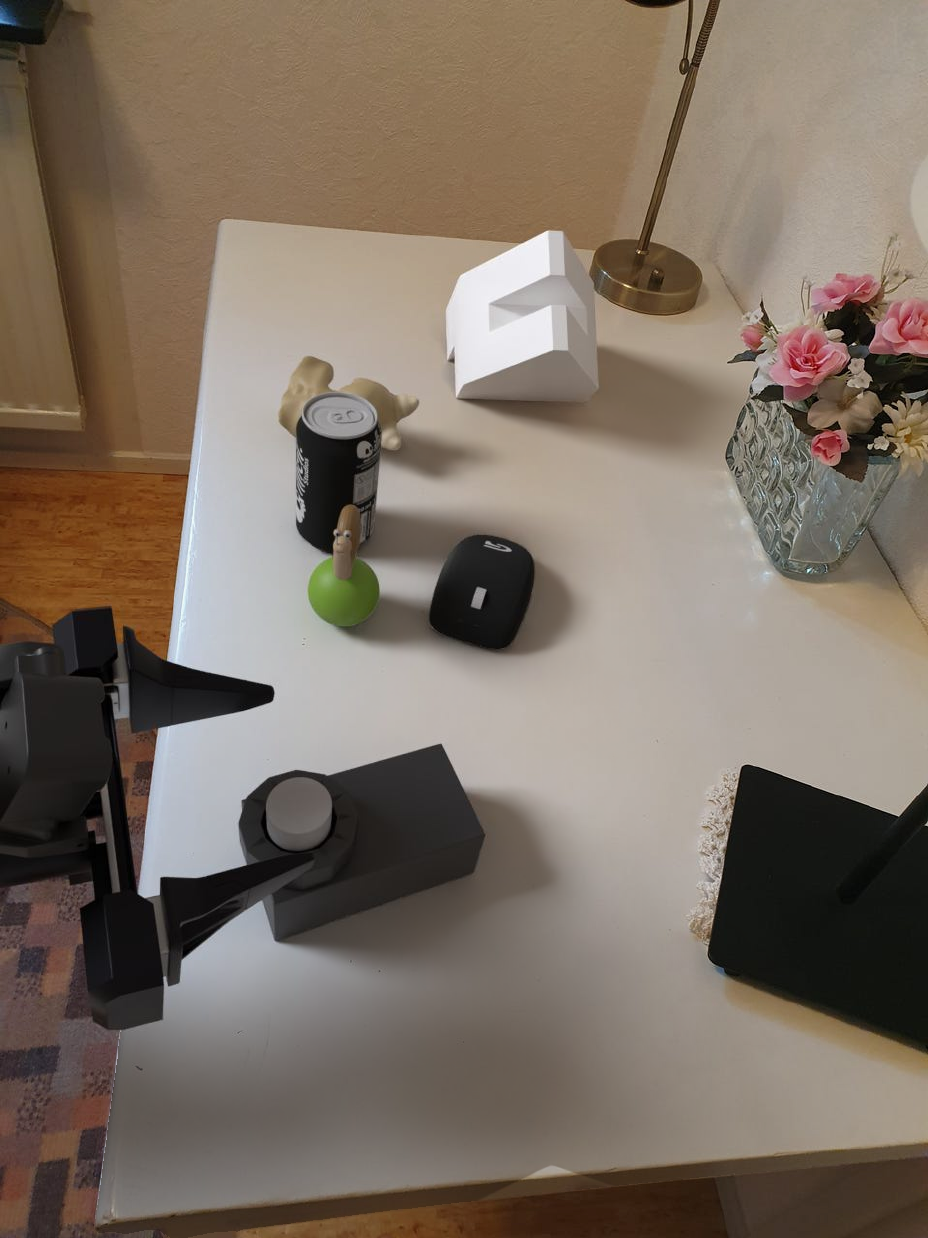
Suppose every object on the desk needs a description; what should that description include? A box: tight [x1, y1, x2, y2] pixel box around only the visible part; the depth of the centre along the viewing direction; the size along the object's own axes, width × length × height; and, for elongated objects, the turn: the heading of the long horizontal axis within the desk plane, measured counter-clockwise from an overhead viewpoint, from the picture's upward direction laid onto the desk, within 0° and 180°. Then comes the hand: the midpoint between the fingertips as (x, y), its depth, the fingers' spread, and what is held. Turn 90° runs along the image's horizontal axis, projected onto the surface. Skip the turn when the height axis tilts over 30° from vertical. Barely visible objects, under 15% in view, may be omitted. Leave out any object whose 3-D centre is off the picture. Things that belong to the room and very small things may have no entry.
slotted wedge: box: [445, 229, 600, 403], centre depth 92 cm, size 14×11×18 cm
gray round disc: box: [266, 777, 332, 852], centre depth 52 cm, size 4×4×2 cm
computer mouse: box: [428, 533, 536, 650], centre depth 75 cm, size 8×12×4 cm, turn 164°
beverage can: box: [295, 392, 382, 553], centre depth 75 cm, size 7×7×12 cm
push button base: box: [237, 743, 486, 942], centre depth 56 cm, size 14×7×7 cm, turn 114°
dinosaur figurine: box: [278, 355, 420, 451], centre depth 85 cm, size 8×7×12 cm
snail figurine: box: [307, 505, 381, 627], centre depth 68 cm, size 5×6×12 cm
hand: (292, 772), depth 46 cm, fingers open, 9 cm apart
